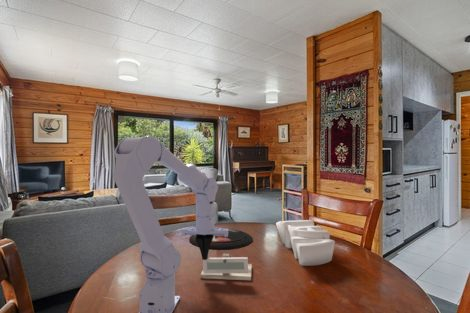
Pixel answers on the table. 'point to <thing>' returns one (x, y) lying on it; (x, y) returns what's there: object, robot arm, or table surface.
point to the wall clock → (228, 240)
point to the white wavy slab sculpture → (307, 241)
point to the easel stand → (229, 274)
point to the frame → (226, 265)
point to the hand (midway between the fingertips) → (205, 258)
